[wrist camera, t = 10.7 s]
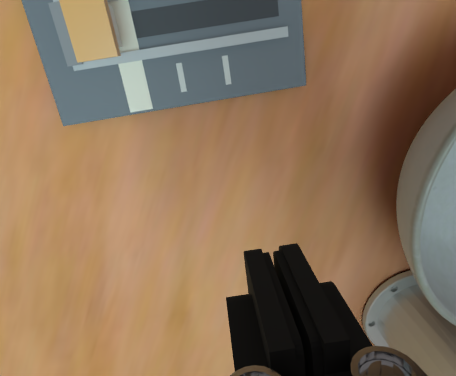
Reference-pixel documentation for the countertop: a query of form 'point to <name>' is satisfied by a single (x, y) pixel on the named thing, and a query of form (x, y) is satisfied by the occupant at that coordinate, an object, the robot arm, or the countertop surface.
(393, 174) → the countertop surface
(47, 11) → the board
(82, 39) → the fader knob
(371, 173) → the countertop surface
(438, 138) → the decorative bowl
